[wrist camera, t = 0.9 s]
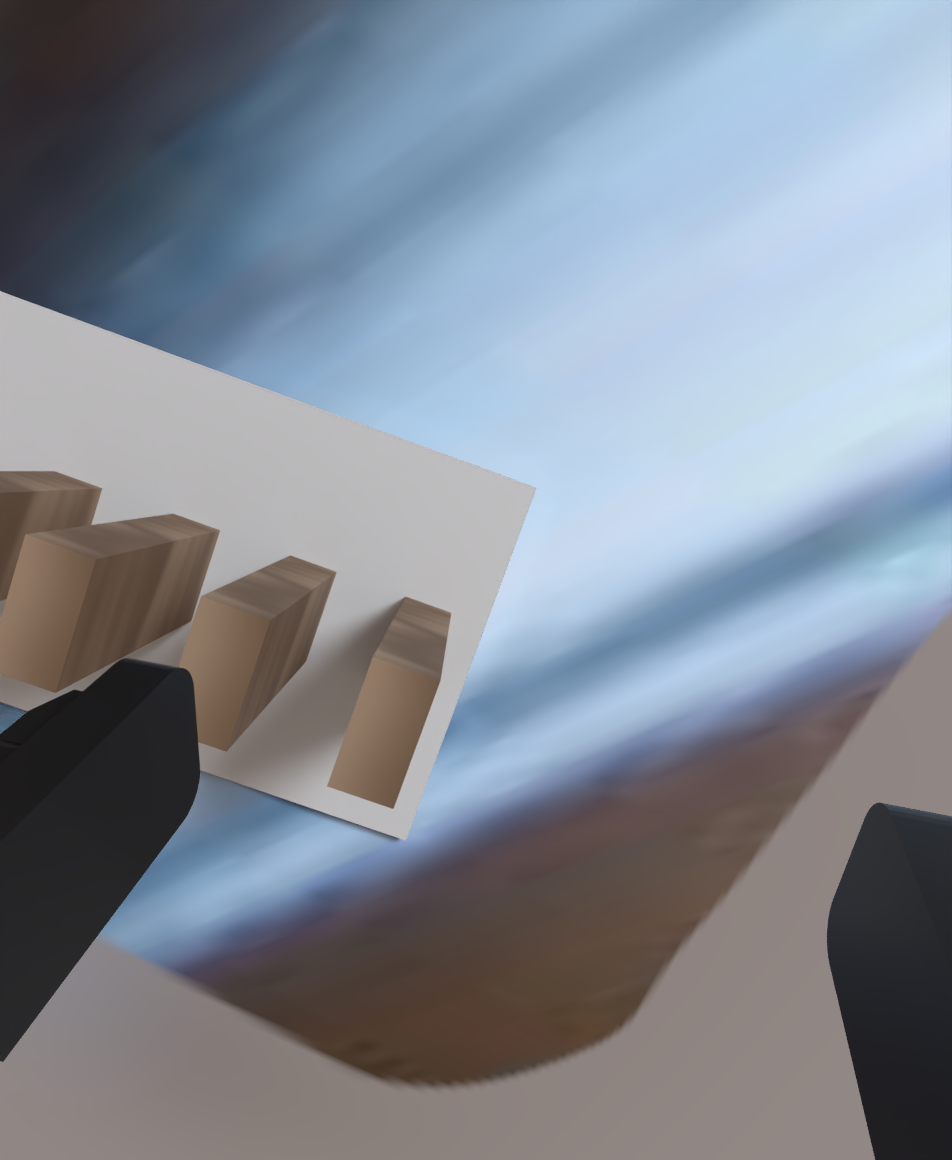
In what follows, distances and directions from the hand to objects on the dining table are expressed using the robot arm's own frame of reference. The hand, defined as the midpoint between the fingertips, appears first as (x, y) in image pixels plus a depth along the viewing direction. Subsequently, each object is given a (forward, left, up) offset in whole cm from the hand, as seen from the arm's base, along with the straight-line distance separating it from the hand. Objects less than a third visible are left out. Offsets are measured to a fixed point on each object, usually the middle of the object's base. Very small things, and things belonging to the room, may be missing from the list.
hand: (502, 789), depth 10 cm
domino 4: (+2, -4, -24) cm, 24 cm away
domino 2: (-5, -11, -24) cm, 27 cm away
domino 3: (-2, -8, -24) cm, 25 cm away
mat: (-8, -14, -25) cm, 30 cm away
